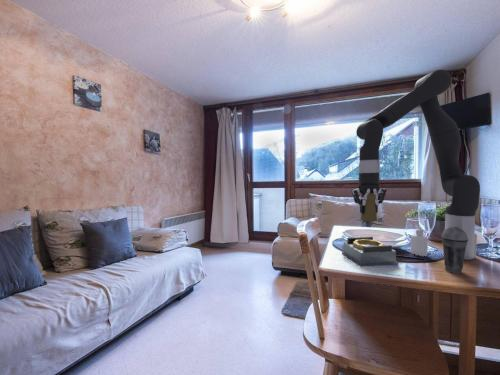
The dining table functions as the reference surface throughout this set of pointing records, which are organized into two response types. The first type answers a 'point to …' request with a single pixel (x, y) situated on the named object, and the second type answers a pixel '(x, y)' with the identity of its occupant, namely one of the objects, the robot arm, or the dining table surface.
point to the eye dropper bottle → (419, 243)
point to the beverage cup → (454, 248)
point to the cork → (370, 208)
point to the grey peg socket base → (369, 252)
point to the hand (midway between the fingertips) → (368, 214)
